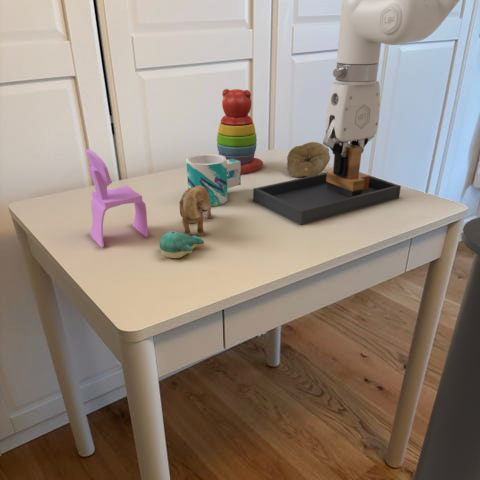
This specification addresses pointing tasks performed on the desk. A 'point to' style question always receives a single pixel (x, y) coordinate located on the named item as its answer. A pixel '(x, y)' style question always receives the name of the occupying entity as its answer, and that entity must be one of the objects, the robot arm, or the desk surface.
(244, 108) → the stacking bear
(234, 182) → the mug
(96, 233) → the toy chair
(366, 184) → the reddish brown block
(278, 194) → the tray
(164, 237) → the whale figurine
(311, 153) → the fossil
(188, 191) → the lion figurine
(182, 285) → the desk surface
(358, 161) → the brush
